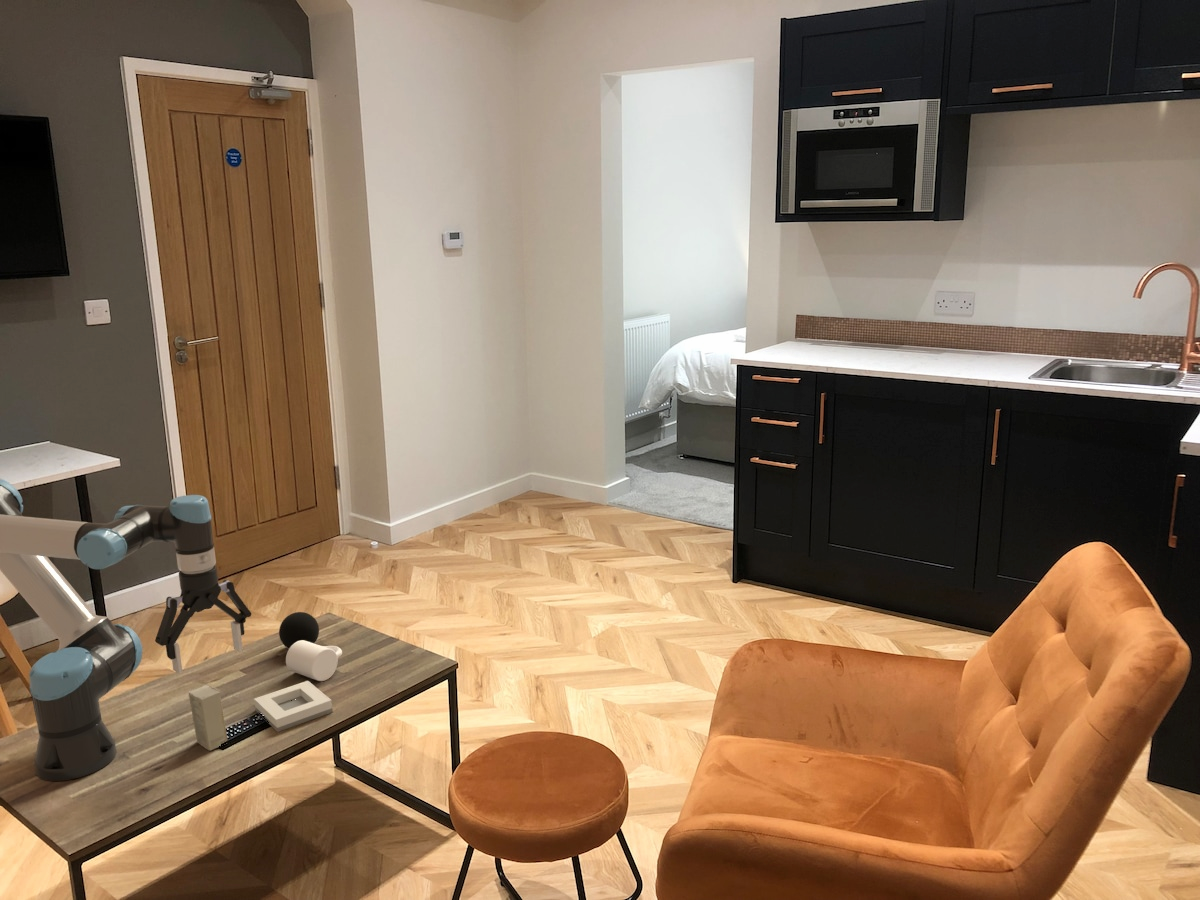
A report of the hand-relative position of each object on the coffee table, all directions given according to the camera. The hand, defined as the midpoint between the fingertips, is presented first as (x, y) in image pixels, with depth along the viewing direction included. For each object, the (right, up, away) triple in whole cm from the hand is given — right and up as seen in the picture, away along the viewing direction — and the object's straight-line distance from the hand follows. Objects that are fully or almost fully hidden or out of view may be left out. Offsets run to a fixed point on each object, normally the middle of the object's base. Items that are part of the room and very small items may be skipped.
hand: (208, 660), depth 211 cm
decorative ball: (+6, -7, +45) cm, 46 cm away
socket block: (+14, -14, +13) cm, 24 cm away
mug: (+15, -10, +32) cm, 37 cm away
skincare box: (+1, -18, 0) cm, 18 cm away
